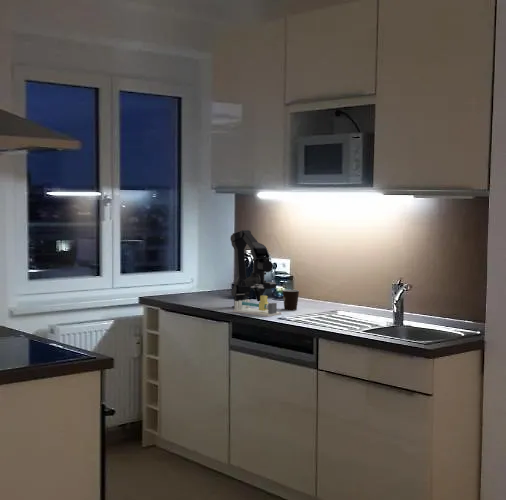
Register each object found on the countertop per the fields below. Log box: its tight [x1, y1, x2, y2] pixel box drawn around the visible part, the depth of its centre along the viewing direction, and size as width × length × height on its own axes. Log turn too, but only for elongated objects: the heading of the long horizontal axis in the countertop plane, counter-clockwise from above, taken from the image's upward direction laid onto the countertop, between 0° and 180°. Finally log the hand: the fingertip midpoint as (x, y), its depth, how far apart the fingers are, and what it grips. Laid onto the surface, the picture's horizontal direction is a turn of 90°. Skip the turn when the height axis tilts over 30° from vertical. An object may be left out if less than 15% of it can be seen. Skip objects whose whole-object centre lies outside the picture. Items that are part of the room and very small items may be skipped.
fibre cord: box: [242, 302, 278, 314], centre depth 407 cm, size 22×4×5 cm, turn 50°
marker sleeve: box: [258, 294, 270, 311], centre depth 404 cm, size 3×4×7 cm
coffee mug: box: [282, 289, 300, 311], centre depth 422 cm, size 12×9×10 cm
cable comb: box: [232, 298, 282, 317], centre depth 407 cm, size 23×11×6 cm, turn 50°
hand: (258, 301), depth 406 cm, fingers closed
